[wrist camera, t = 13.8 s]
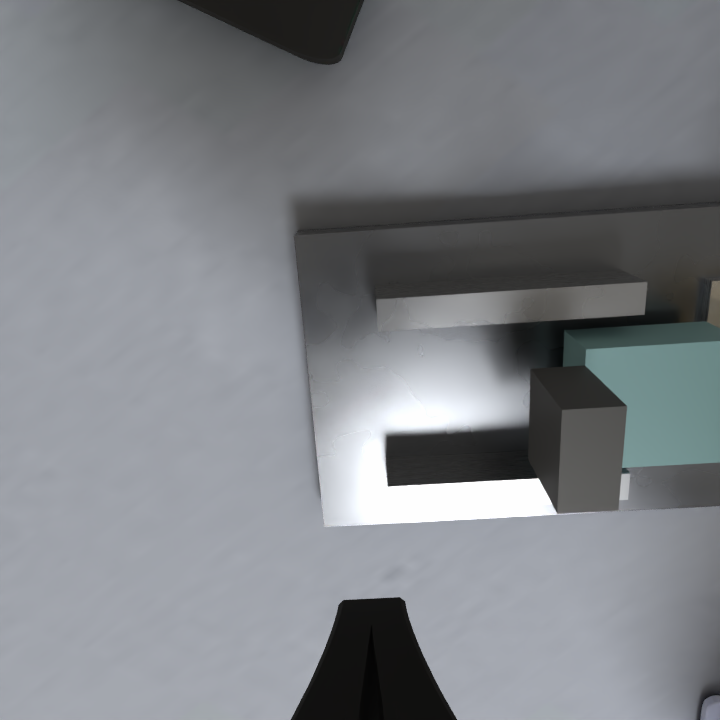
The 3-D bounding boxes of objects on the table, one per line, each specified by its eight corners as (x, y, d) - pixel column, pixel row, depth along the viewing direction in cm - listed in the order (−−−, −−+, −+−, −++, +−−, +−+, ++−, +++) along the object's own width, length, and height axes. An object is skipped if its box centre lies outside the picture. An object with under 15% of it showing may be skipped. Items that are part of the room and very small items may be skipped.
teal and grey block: (705, 321, 19) (816, 376, 14) (691, 433, 20) (789, 517, 16) (514, 333, 19) (563, 391, 15) (512, 443, 21) (556, 529, 16)
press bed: (900, 189, 20) (996, 195, 17) (836, 481, 23) (906, 530, 20) (298, 231, 20) (286, 244, 17) (326, 509, 24) (320, 560, 21)
